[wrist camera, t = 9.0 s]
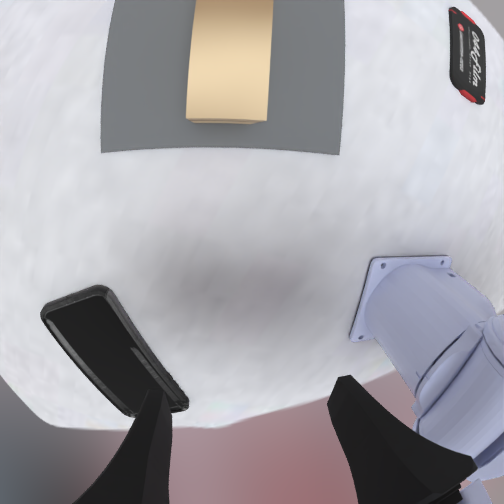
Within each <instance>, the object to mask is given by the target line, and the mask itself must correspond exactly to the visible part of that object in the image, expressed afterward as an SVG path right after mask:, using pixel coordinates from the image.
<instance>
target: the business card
mask: <svg viewBox="0 0 504 504" xmlns="http://www.w3.org/2000/svg"><path fill="white" fill-rule="evenodd" d="M449 22H450V80H451V82H452V84H453V85H454V87H455V88H457V89H458V90H459V92H460V93H461V95H463V96H464V97H465V98H467V99H468V100H469V101H471V102H475V103H476V104H480V105H482V104H484V102H485V89H486V57H485V39H484V35H483V33H482V31H481V29H480V28H479V27H478V26H477V25H476V24H475V22H474V21H473V20H472V19H471V18H470V17H469V16H468V15H466V14H465V13H464V12H463V11H460V10H458V9H457V8H455V7H451V8H449Z"/></svg>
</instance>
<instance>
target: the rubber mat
mask: <svg viewBox="0 0 504 504" xmlns="http://www.w3.org/2000/svg"><path fill="white" fill-rule="evenodd" d="M195 6H196V0H115V3H114V8H113V13H112V18H111V23H110V28H109V34H108V41H107V48H106V55H105V64H104V74H103V86H102V102H101V153H105V152H115V151H126V150H139V149H155V148H178V147H239V148H263V149H279V150H292V151H304V152H314V153H323V154H332V155H339V152H340V142H341V129H342V116H343V99H344V75H345V11H344V0H273V19H272V38H271V56H270V73H269V91H268V107H267V121H263V122H258V123H253V124H231V123H193V122H191V121H190V120H188V119H186V104H187V87H188V73H189V61H190V49H191V39H192V30H193V22H194V14H195Z"/></svg>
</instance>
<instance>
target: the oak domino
mask: <svg viewBox="0 0 504 504" xmlns="http://www.w3.org/2000/svg"><path fill="white" fill-rule="evenodd" d="M272 19H273V0H196V6H195V14H194V22H193V30H192V39H191V49H190V61H189V73H188V87H187V104H186V119H188V120H190V121H191V122H193V123H231V124H253V123H258V122H263V121H267V107H268V91H269V73H270V56H271V38H272Z"/></svg>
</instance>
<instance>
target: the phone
mask: <svg viewBox="0 0 504 504" xmlns="http://www.w3.org/2000/svg"><path fill="white" fill-rule="evenodd" d="M87 289H88V290H87ZM87 289H84V290H81V291H79V292H76V293H73V294H71V295H68V296H65V297H63V298H60V299H57V300H55V301H52V302H49V303H47V304H46V305H45V306H44V307H43V309H42V310H41V312H40V316H41V320H42V321H43V323H44V325H45V326H46V327H47V329H48V330H49V332H50V333H51V334H52V336H53V337H54V338H55V340H56V341H57V342H58V344H59V345H60V346H61V347H62V349H63V350H64V351H65V352H66V354H67V355H68V356H69V357H70V359H71V360H72V361H73V362H74V363H75V364H76V366H77V367H78V368H79V369H80V370H81V371H82V373H83V374H84V375H85V376H86V377H87V378H88V379H89V380H90V381H91V382H92V383H93V385H94V386H95V387H96V388H97V389H98V390H99V391H100V392H101V393H102V394H103V395H104V396H105V397H106V398H107V399H108V400H109V401H110V402H111V403H112V404H113V405H114V406H115V407H116V408H117V409H118V410H120V411H121V412H122V413H123V414H124V415H126V416H129V417H132V418H136V416H137V414H138V412H139V410H140V408H141V405H142V403H143V401H144V398H145V396H146V393H147V391H148V390H149V389H156V390H164V391H165V394H166V398H167V401H168V404H169V408H170V411H171V413H176V412H182V411H185V410H187V409H188V408H189V399H188V397H187V396H186V395H185V394H184V392H183V391H182V390H181V389H180V388H179V386H178V385H177V384H176V382H175V381H174V380H173V378H172V377H171V376H170V375H169V374H168V372H167V371H166V370H165V368H164V367H163V366H162V364H161V363H160V362H159V360H158V359H157V358H156V356H155V355H154V354H153V352H152V351H151V349H150V348H149V347H148V345H147V344H146V342H145V341H144V339H143V338H142V336H141V335H140V334H139V332H138V331H137V329H136V328H135V326H134V325H133V323H132V321H131V320H130V318H129V317H128V315H127V314H126V312H125V310H124V309H123V307H122V306H121V304H120V302H119V301H118V299H117V297H116V296H115V294H114V293H113V292H112V290H110V289H109V288H108V287H105V286H103V285H95V286H92V287H89V288H87Z"/></svg>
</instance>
